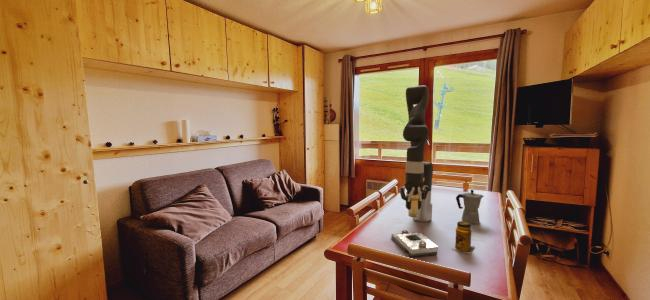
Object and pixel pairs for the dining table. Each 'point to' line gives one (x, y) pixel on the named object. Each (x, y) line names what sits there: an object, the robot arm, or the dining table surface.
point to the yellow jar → (463, 238)
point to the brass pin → (414, 205)
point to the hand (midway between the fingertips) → (413, 208)
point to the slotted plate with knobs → (415, 243)
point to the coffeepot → (470, 207)
